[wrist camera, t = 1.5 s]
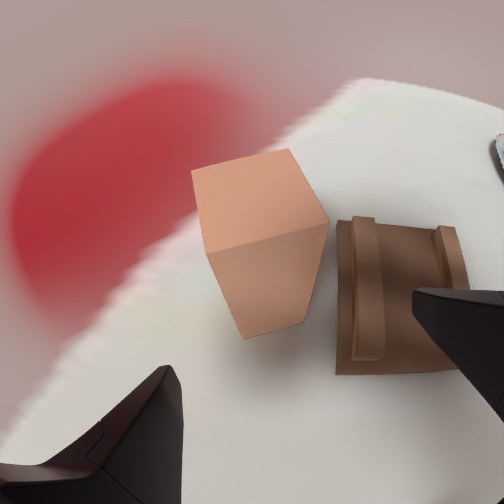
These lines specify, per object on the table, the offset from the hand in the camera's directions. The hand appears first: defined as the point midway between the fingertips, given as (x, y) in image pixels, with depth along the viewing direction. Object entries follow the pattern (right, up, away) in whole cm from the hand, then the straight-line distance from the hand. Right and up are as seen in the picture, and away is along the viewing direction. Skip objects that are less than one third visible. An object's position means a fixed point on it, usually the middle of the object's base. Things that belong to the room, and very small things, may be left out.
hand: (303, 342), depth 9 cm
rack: (+12, -1, +13) cm, 18 cm away
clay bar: (-1, -1, +14) cm, 14 cm away
